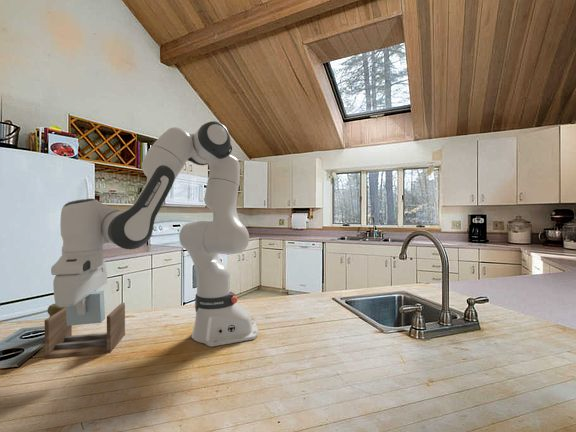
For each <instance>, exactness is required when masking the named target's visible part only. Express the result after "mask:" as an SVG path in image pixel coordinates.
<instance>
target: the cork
mask: <svg viewBox="0 0 576 432" xmlns="http://www.w3.org/2000/svg"><path fill="white" fill-rule="evenodd" d="M64 308H65V307H58V306H57V305H56V303H55V302H54V303H52V304H50V305H48V308H47V314H48V315H49V317H51V316H52V315H54V314H55V313H57V312H59V311H60V310H62V309H64Z"/></svg>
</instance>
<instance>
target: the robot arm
mask: <svg viewBox="0 0 576 432" xmlns="http://www.w3.org/2000/svg"><path fill="white" fill-rule="evenodd" d="M232 151H233V146H232V143H231V135H230V133H229V129H228V128H227V127H226V126H225V125H224V124H223V123H221V122H219V121H215V120H213V121H208V122H206V123H204V124H202V125H201V126H200V127H199V128H198V129H197V130H196V132H195V133H190V132H189V133H188V132H187V131H186V130H185V129H182V128H180V127H178V126H177V127H170V128H168V129H167V130H166V131H165V132H163V133H162V134H161V135H160V136H158V138H157V139H156V140H155V142H154V143H153V144H152V145H151V147H149V149H148V151H147V152H146V154H145V155H144V158H143V160H142V162H141V168H142V172H143V174H144V176H146V182H145V184H144V187H142V190H141V191H140V193H139V195H138V196H137V198H136V199H135V201H134V202H133V204H132V206H130V207H129V208H128V209H126V210H120V209H117V208H115V207H112V206H109V205H106V204H104V203H102V202H100V201H99V200H98V199H96V198H84V199H75V200H72V201H68V202H67V203H65V204H64V205H63V206H62V208H61V212H60V224H59V225H60V236H61V238H62V247H61V256H60V257H59V258H58V260H57V261H56V262H55V263H54V264H53V265H52V266H50V267H51V268H50V273H51V275H52V276H55V277H54V279H53V280H52V281H53V282H52V283H53V284H52V285H53V287H52V288H53V297H54V304H55V303H56V305H57V306H58V307H70V306H74V305H75V307H76V308H77V314H78V315H84V314H85V313H86V312H87V306H85V298H86V297H87V296H89V295H90V294H91V293H93V292H94V291H98V290H99V289H100V288H101V287H102V286H105V284H107V282H108V272H107V264H106V261H105V260H104V247H103V246H104V244H108V243H111V244H113V245H116V246H118V247H119V248H121V249H125V250H135V249H138V248H141V247H143V246H145V245H146V244H147V243H148V242H149V240H150V239H151V236H152V235H153V231H154V226H155V225H154V224H155V220H156V218H157V215H158V214H159V211H160V210H161V208H162V206H163V204H164V202H165V200H166V199H167V197H168V195H169V193H170V191H171V189H172V187H173V185H174V183H175V180H176V179H177V177H178V176H179V174H180V172H181V171H182V170H183V168H184V166H185V164H186V163H187V162H191V163H192V164H195V165H197V166H206V165H208V168H209V174H208V178H207V183H206V187H205V192H204V198H203V201H204V204H205V206H206V207H207V208H208V209H209V210H211V212H212V214H213V215H212V216H213V217H212V218H213V219H212V220H211V221H210V220H196V221H191V222H186V223H184V225H183V226H182V227H181V229H180V232H179V234H178V235H179V242H180V245H181V246H182V248H184V249H185V250H186V251H187V253H188V254H189V256H190V258H191V260H192V262H193V265H194V269H195V277H196V293H195V298H194V308H195V320H194V324H193V325H194V326H193V330H192V333H191V338H192V339H193V340H194V341H196V342H197V343H201V344H204V345H206V346H208V347H216V346H217V347H218V346H223V345H228V344H229V345H230V344H234V343H240V342H245V341H246V342H247V341H251V340H255V339H256V338H257V337H258V335H259V327H258V325H257V323H256V322H255V321H253V320H252V315H251V314H250V312H249V310H248V309H247V308H245V307H243V306H242V305H240V304H239V303H238V297H237V295H236V293H235V291H231V272H230V269H229V267H228V266H227V265H226V264H224V262H222V260H221V259H220V257H219V255H225V256H226V255H236V254H241V253H243V252H244V251H245V250H246V249H247V247H248V245H249V243H250V234H249V231H248V229H247V227H246V226H245V225H244V224H243V223H242V222H241V220H240V218H239V216H238V210H237V203H238V194H239V189H240V182H241V181H240V180H241V164H240V161H239V160H238V158H237V157H235V156H234V155H231V153H232Z"/></svg>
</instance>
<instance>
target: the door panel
mask: <svg viewBox="0 0 576 432" xmlns="http://www.w3.org/2000/svg"><path fill="white" fill-rule="evenodd" d="M104 292H105V290H96V291H94V292H93V293H91V294H90V295H89V296H87V297H86V298H85V306H87V312H86V313H85V314H84V315H78V314H77V308H76V307H75V305H74V306H70V307H66V317H67V326H80V325H81V326H82V325H90V324H91V325H93V324H102V323H103V321H105V320H106V311H105V309H106V308H105V307H106V306H105V293H104Z"/></svg>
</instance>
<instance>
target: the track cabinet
mask: <svg viewBox="0 0 576 432" xmlns="http://www.w3.org/2000/svg"><path fill="white" fill-rule="evenodd" d="M72 326H73V325H72ZM72 326H67V317H66V307H65V308H64V309H62V310H60V311H59V312H57V313H55V314H54V315H52V316H51V317H50V316H49V317H47V318H45V319H44V359H50V358H51V359H52V358H61V357H73V356H84V355H86V356H87V355H94V354H96V355H97V354H107V353H112V351H113V350H114V349H115V347H117V346H118V344H119V343H120V342H121V341H122V339H123V338H124V337H125V335H126V303H125V302H121V303H120V304H119V305H118V306H117V307H115V308H114V309H112V311H111V312H110V313H108V314H107V316H106V332H105V333H93V334H77V335H76V334H75V335H73V333H72V331H73V330H72Z"/></svg>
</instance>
